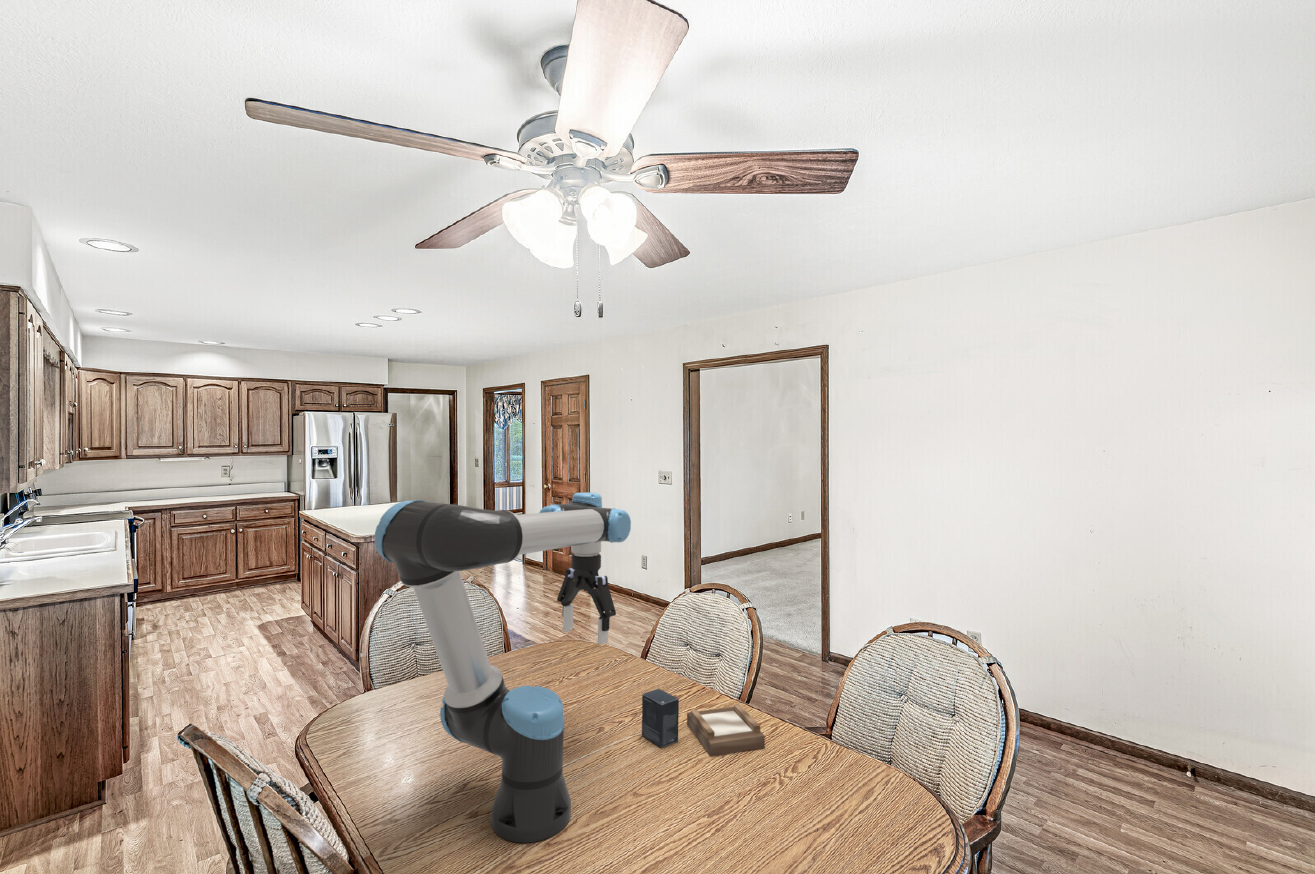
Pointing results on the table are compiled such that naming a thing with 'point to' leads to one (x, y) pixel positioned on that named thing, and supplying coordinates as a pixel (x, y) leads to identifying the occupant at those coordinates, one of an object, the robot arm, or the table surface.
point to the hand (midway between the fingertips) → (584, 636)
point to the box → (660, 717)
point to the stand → (726, 730)
